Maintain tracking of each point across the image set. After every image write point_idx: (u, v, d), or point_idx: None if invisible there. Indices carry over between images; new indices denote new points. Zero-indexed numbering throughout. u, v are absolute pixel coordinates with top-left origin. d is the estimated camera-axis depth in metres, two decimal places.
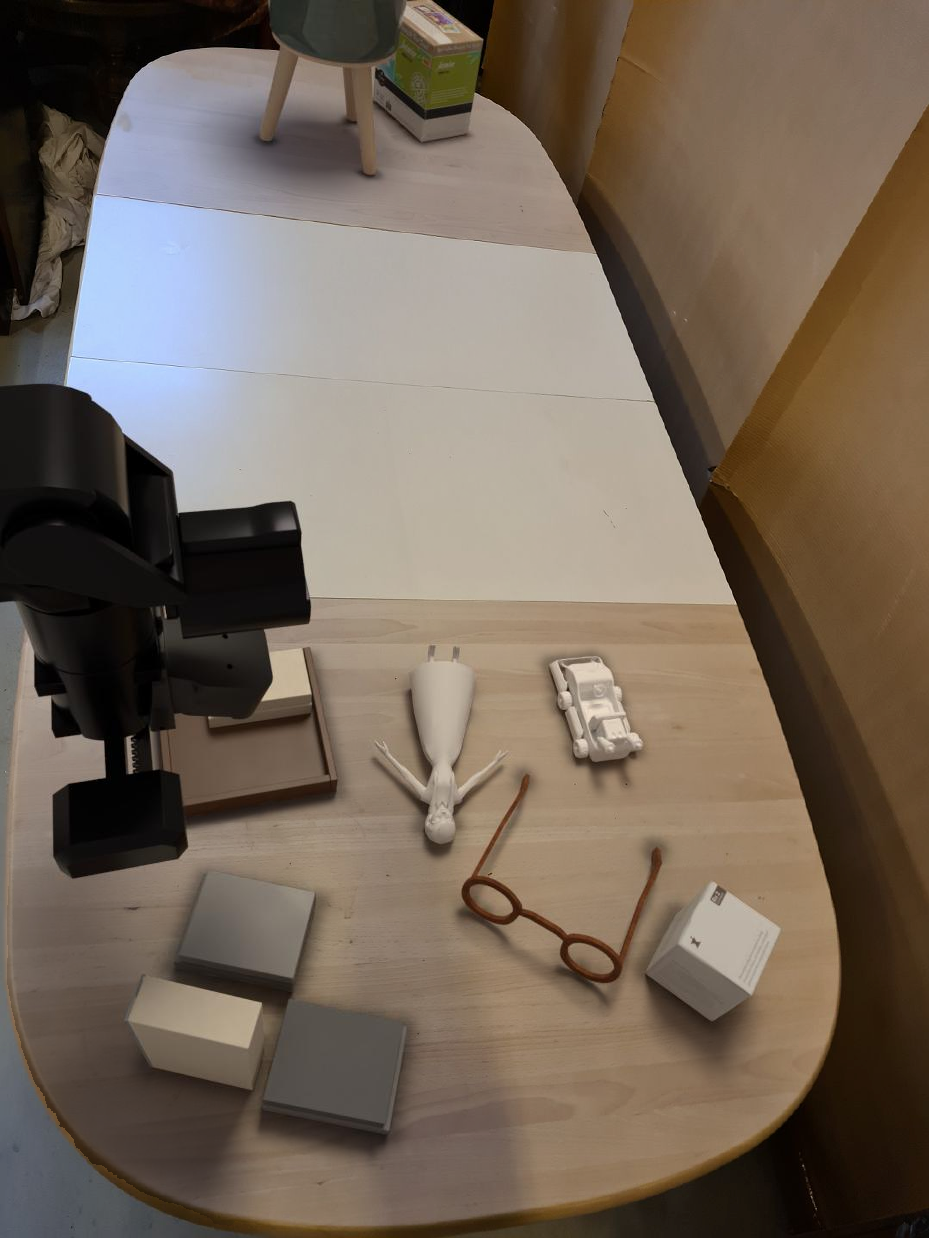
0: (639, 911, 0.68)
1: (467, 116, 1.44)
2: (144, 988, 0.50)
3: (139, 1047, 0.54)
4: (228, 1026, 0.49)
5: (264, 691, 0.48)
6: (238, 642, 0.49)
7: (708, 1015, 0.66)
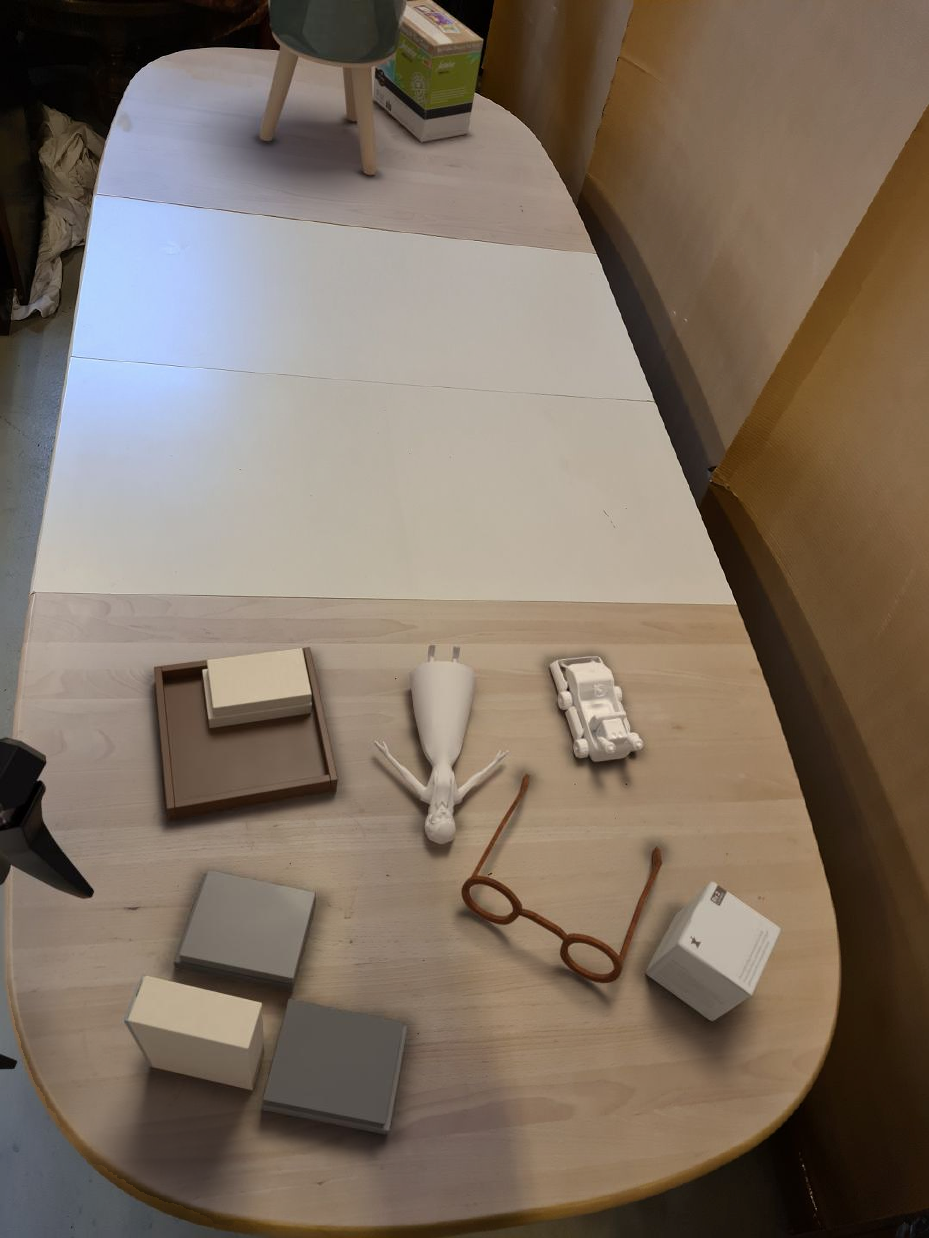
0: (639, 911, 0.68)
1: (467, 116, 1.44)
2: (144, 988, 0.50)
3: (139, 1047, 0.54)
4: (228, 1026, 0.49)
5: None
6: None
7: (708, 1015, 0.66)
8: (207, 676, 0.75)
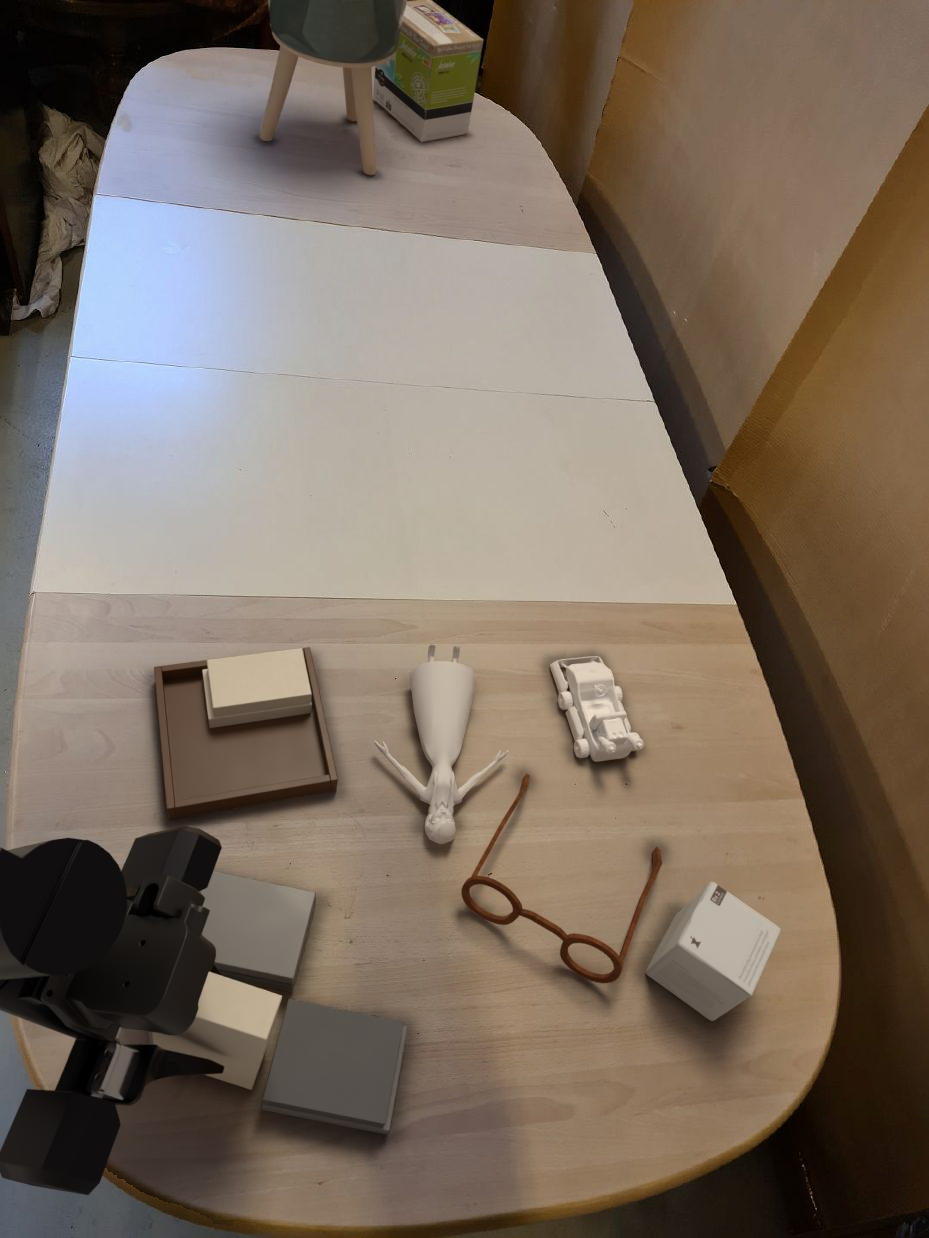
0: (639, 911, 0.68)
1: (467, 116, 1.44)
2: None
3: (149, 1033, 0.54)
4: (248, 1016, 0.50)
5: (152, 1016, 0.42)
6: (151, 950, 0.44)
7: (708, 1015, 0.66)
8: (207, 676, 0.75)
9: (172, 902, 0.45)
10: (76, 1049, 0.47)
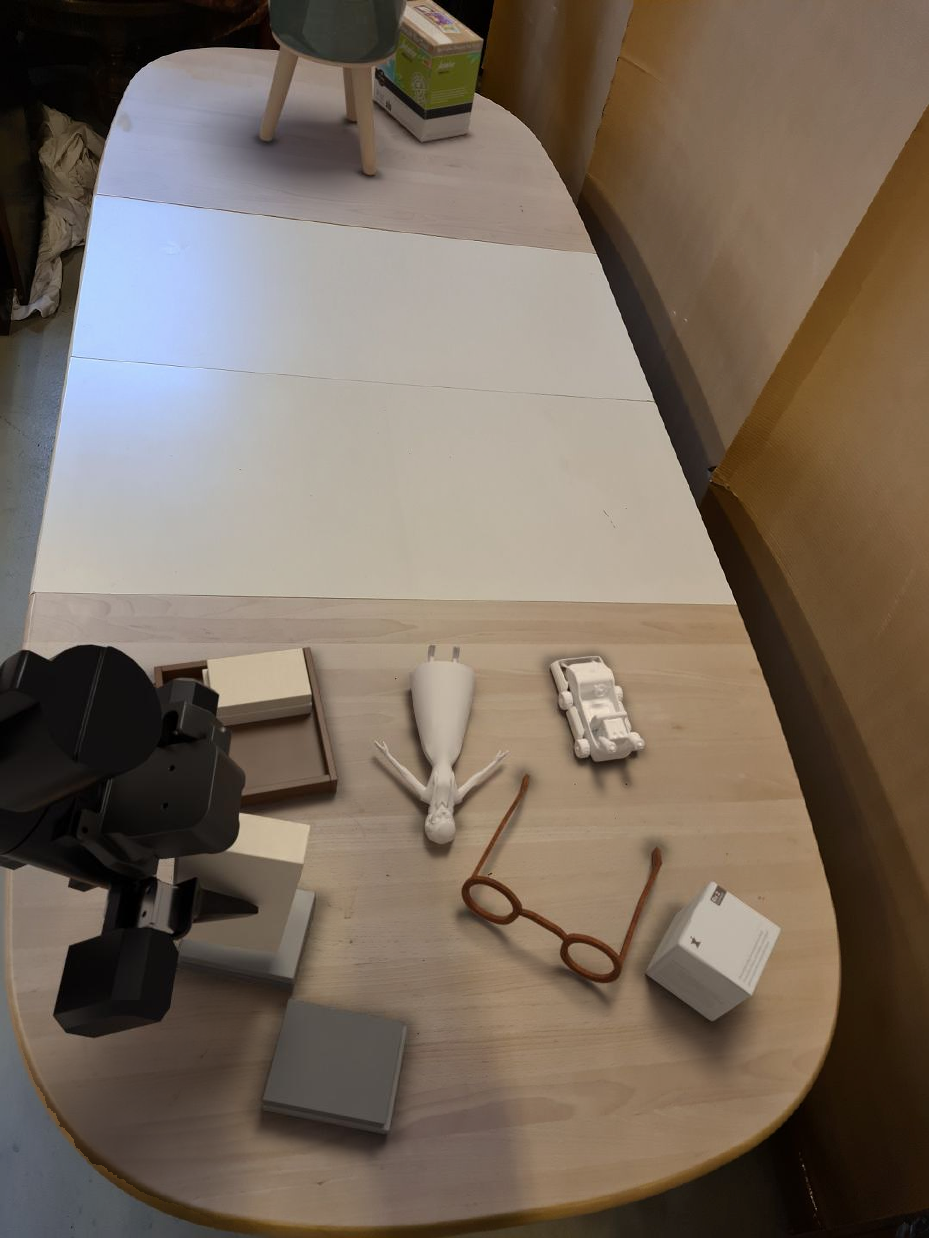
0: (639, 911, 0.68)
1: (467, 116, 1.44)
2: None
3: None
4: (281, 845, 0.49)
5: (200, 828, 0.41)
6: (183, 772, 0.43)
7: (708, 1015, 0.66)
8: (207, 676, 0.75)
9: (194, 725, 0.44)
10: (114, 897, 0.45)
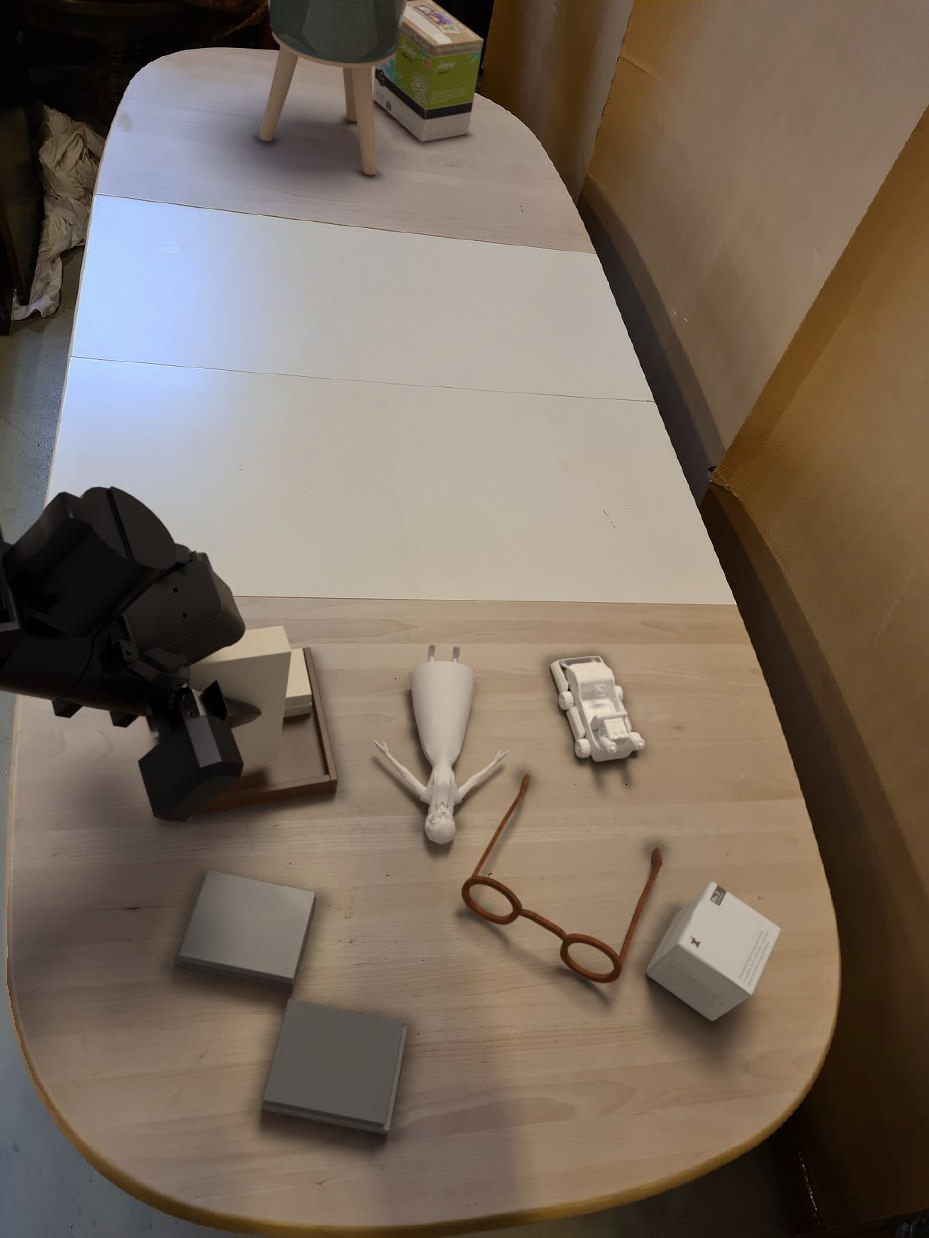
0: (639, 911, 0.68)
1: (467, 116, 1.44)
2: None
3: None
4: (268, 644, 0.60)
5: (221, 619, 0.52)
6: (187, 589, 0.53)
7: (708, 1015, 0.66)
8: None
9: (179, 555, 0.54)
10: (158, 715, 0.55)
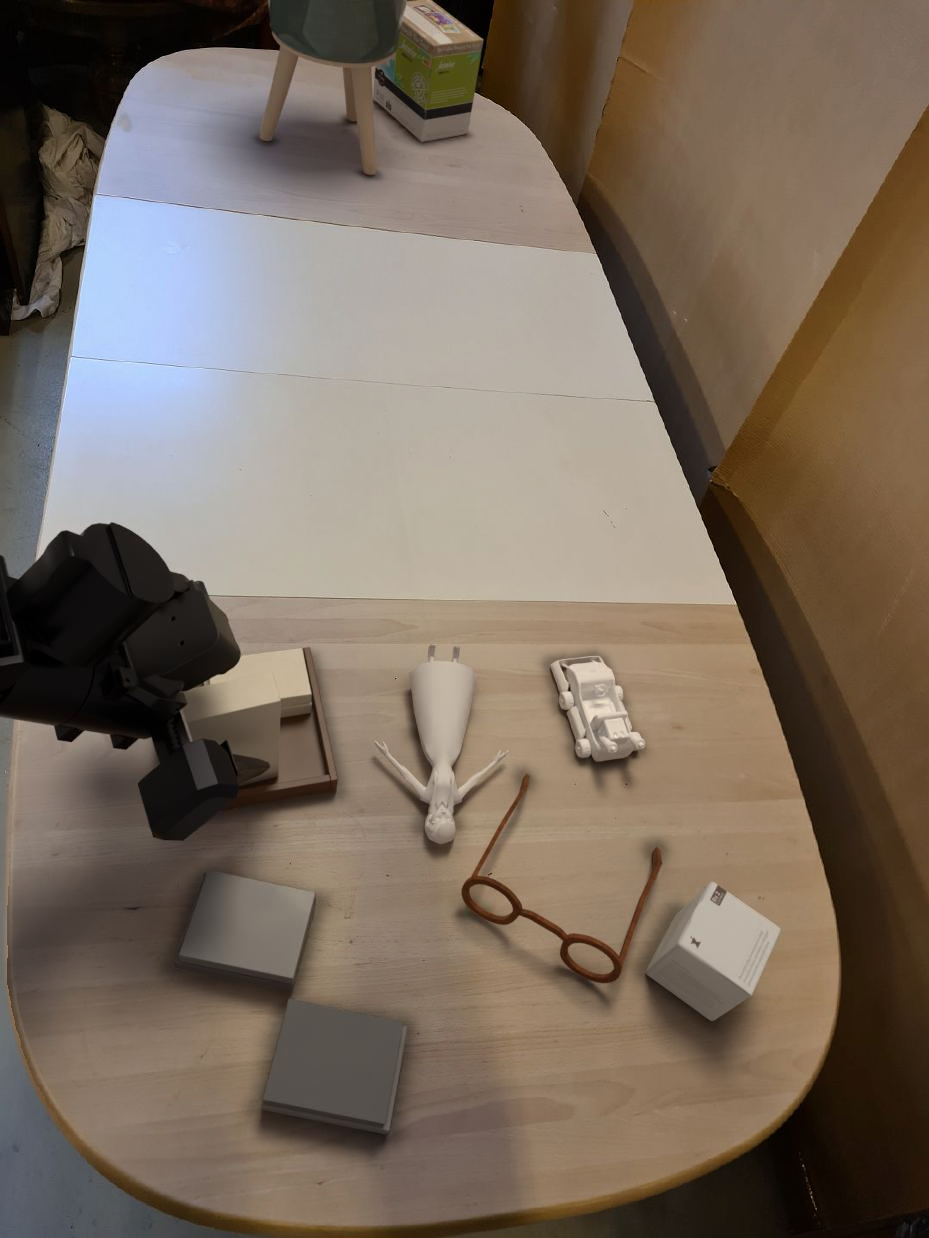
0: (639, 911, 0.68)
1: (467, 116, 1.44)
2: None
3: None
4: (257, 694, 0.61)
5: (217, 646, 0.54)
6: (184, 617, 0.55)
7: (708, 1015, 0.66)
8: None
9: (176, 584, 0.56)
10: (157, 738, 0.57)
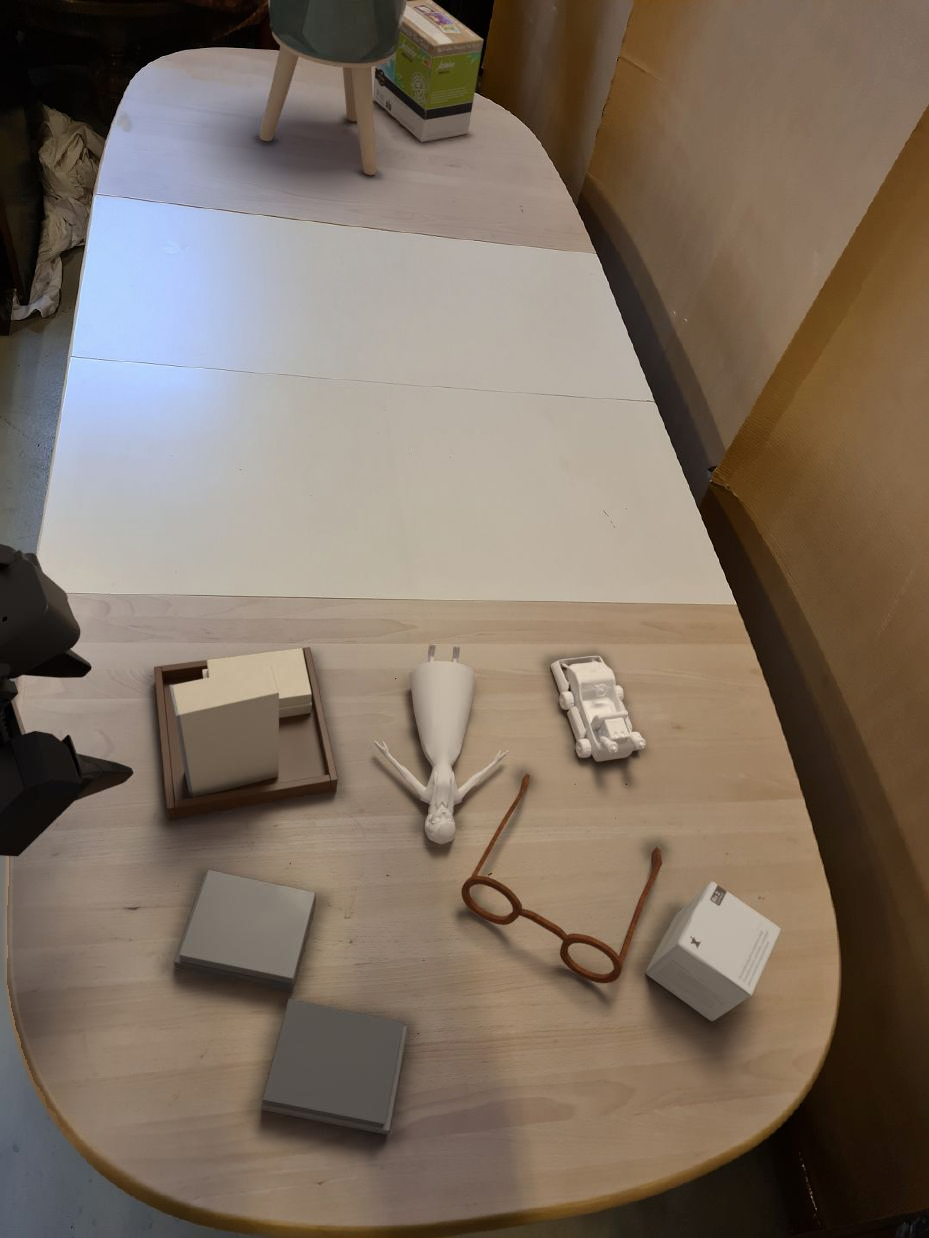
0: (639, 911, 0.68)
1: (467, 116, 1.44)
2: (177, 692, 0.60)
3: (185, 763, 0.65)
4: (256, 686, 0.62)
5: (46, 619, 0.46)
6: (9, 590, 0.48)
7: (708, 1015, 0.66)
8: (207, 676, 0.75)
9: (1, 555, 0.49)
10: None
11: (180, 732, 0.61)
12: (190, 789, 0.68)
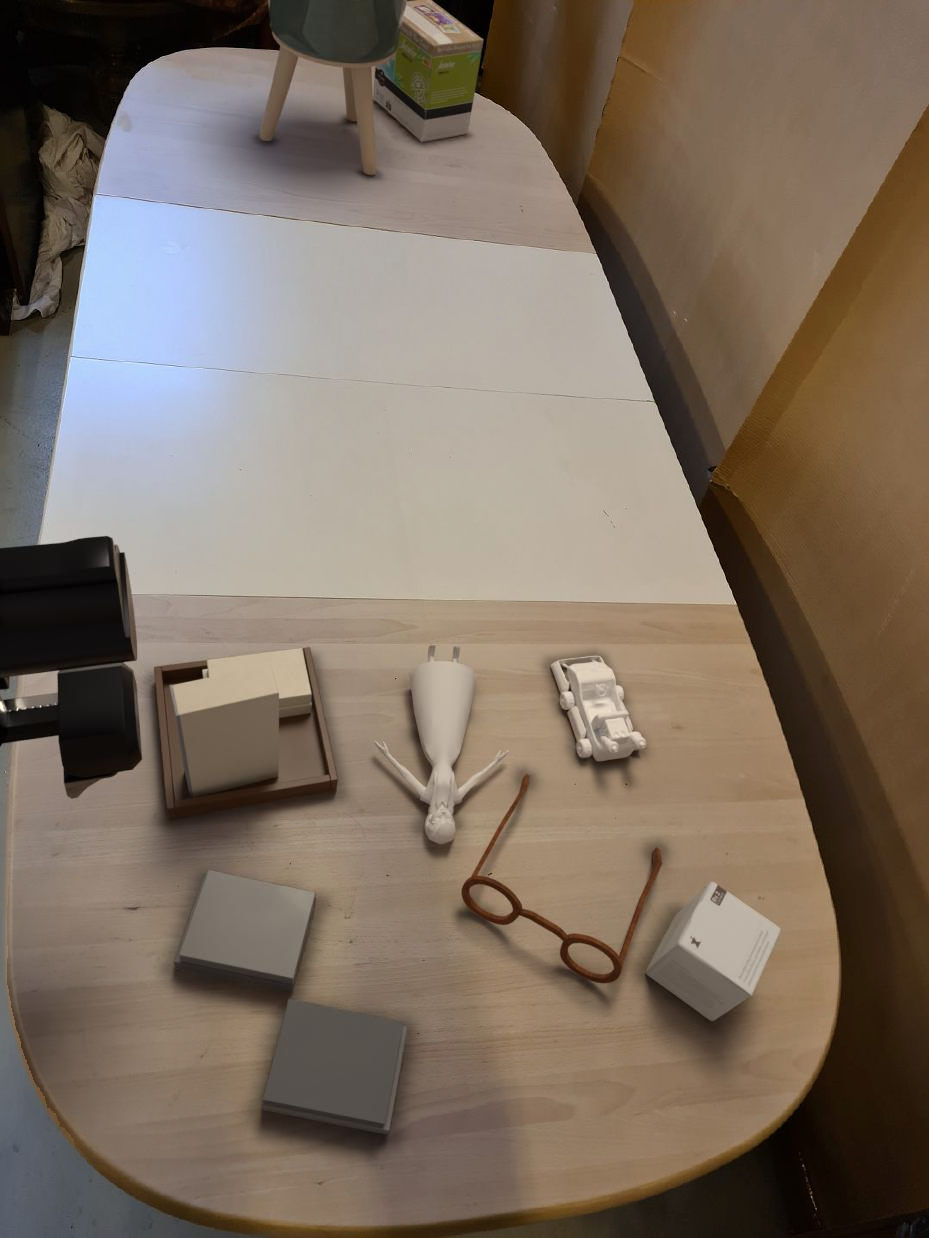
0: (639, 911, 0.68)
1: (467, 116, 1.44)
2: (177, 692, 0.60)
3: (185, 763, 0.65)
4: (256, 686, 0.62)
5: None
6: None
7: (708, 1015, 0.66)
8: (207, 676, 0.75)
9: None
10: (18, 718, 0.48)
11: (180, 732, 0.61)
12: (190, 789, 0.68)
